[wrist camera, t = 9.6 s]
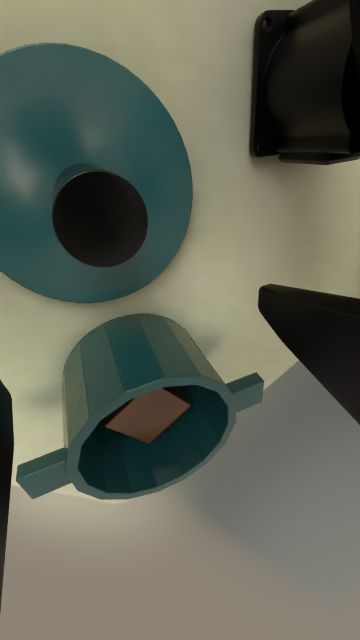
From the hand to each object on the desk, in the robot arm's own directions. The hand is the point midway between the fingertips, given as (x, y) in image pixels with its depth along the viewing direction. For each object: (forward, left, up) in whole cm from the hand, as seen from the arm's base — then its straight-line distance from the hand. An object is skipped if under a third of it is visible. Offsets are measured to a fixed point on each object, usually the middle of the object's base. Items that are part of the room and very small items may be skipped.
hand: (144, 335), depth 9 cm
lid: (-3, 0, -10) cm, 10 cm away
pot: (+11, 0, -10) cm, 15 cm away
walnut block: (+11, 0, -10) cm, 15 cm away
